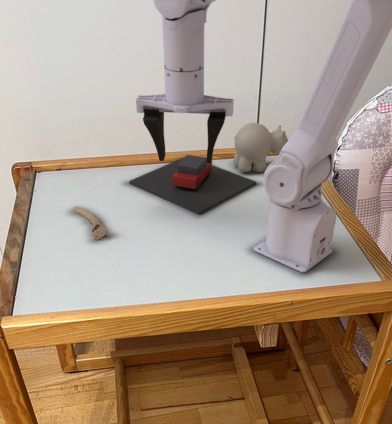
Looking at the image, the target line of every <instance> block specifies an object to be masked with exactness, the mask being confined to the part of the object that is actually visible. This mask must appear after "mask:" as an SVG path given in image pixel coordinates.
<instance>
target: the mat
mask: <svg viewBox="0 0 392 424" xmlns="http://www.w3.org/2000/svg"><path fill="white" fill-rule="evenodd" d="M183 158H184V157H181V158H179V159H177V160H174V161H172V162H170V163H167V164H165V165H163V166H161V167H158V168H156V169H154V170H152V171H149V172H147V173H145V174H143V175H140V176H138V177H135V178H134V179H131V180H129V181H128V183H129V184H130V185H132V186H134V187H136V188H138V189H140V190H143V191H145V192H148V193H150V194H152V195H154V196H157V197H158V198H161V199H163V200H165V201H168V202H169V203H172V204H174V205H176V206H179V207H181V208H183V209H186V210H188V211H190V212H193V213H195V214H197V215H202V214H203V213H205V212H207V211H209V210H210V209H213V208H214V207H216V206H218V205H220V204H222V203H224V202H226V201H228V200H230V199H231V198H233V197H235V196H237V195H239V194H241V193H243V192H244V191H247V190H248V189H250V188H252V187H254V186H256V185H257V181H255V180H253V179H251V178H248V177H244V176H242V175H240V174H237V173H234V172H232V171H229V170H226V169H223V168H220V167H219V166H216V165H213V164H212V170H211V173H210V176H209V177H205V179H204V180H203V181H202V182H201V183H200V188H199V190H193V189H191V188H185V187H176V186H173V182H172V176H173V175H174V174H175V173H176V172H177V165H178V163H179V162H180V161H181V160H182V159H183Z"/></svg>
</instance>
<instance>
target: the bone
mask: <svg viewBox="0 0 392 424" xmlns="http://www.w3.org/2000/svg"><path fill="white" fill-rule="evenodd" d="M72 211H73V212H74V213H75V214H78V215H80V216H83V217H84V218H86V219H88V220H89V221H90V222H91V224H92V230H91V232H92V235H93V237H94V240H95V241H97V240H102V239H103V238H104V237H105V235H106V234H107V230H108V229H107V226H105V225H104V224H102V222H101V221H100V220H99V219H98V217H96V216H95V215H93V214H92V213H91V212H90V211H88V210H86V209H84V208H82V207H79V206H74V207H73V209H72Z"/></svg>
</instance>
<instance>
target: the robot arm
mask: <svg viewBox="0 0 392 424" xmlns="http://www.w3.org/2000/svg"><path fill="white" fill-rule="evenodd" d="M152 1H153V4H154V6H155V9H156V10H157V11H158V13H159V14H160V15H161V22H162V24H161V25H162V46H163V68H164V90H165V91H164V93H163V94H152V95H150V94H148V95H147V94H146V95H141V94H140V95H138V96H137V97H136V99H135V109H136V113H137V114H143V118H142V122H143V124H144V126H145V128H146V129H147V131H148V132H149V135H150V137H151V139H152V141H153V145H154V146H155V149H156V153H157V157H158V161H159V162H164V160H165V159H166V140H165V113H173V114H174V113H176V114H195V115H196V114H198V115H199V114H200V115H208V118H207V121H206V125H207V126H206V127H207V148H206V149H207V150H206V158H207V163H211V162H212V163H213V155H214V149H215V146H216V142H217V140H218V139H219V135H220V133H221V130H222V129H223V126H224V124H225V122H226V118H227V117H233V115H234V106H235V105H234V103H235V99H234V98H229V97H227V98H226V97H221V96H214V95H206V94H205V24H206V23H207V12H208V10H209V8H210V7H211V5H212V3H214V2H217V0H152ZM346 12H347V13H346V15H345V17H344V19H343V22H342V24H341V26H340V29H339V31H338V33H337V35H336V37H335V40H334V43H333V45H332V47H331V50H330V51H329V54H328V55H327V59H326V61H325V64H324V66H323V68H322V70H321V72H320V75H319V77H318V80H317V82H316V84H315V86H314V88H313V91H312V93H311V95H310V98H309V100H308V103H307V105H306V107H305V109H304V112H303V114H302V116H301V119H300V121H299V123H298V126H297V128H296V129H295V131H294V132H293V134H292V135H291V136H290V137H289V138H288V139H289V140H288V141H287V143H286V144H285V145H284V146H283V148H282V149H281V152H280V153H278V156H277V158H276V159H274V160H273V161H272V162H271V163H269V165H268V166H266V169H265V170H264V173H263V177H262V179H263V180H262V182H263V183H262V184H263V188H264V191H265V193H266V195H267V196H268V197H269V207H268V217H267V229H266V236H265V237H266V238H265V240H263V241H262V242H260V243H259V244H257V245H255V246H254V247H253V251H254V252H256V253H258V254H261V255H263V256H265V257H267V258H269V259H271V260H273V261H276V262H278V263H280V264H282V265H284V266H287V267H289V268H291V269H293V270H295V271H297V272H300V273H303V274H304V273H306V272H308V271H309V270H310V269H312V268H313V267H315V266H316V265H317V264H318V263H320V262H321V261H322V260H324V259H325V258H326V257H328V256H330V255H331V254H332V253H333V249H332V247H331V246H332V242H333V236H334V231H335V227H336V222H337V213H336V210H335V209H333V208H332V207H330V206H329V205H327V204H326V203H325V202H324V200H323V199H322V194H323V192H322V188H323V183H325V182H327V180H329V178H330V177H331V175H332V173H333V171H334V162H335V161H334V159H335V154H336V152H337V149H338V148H339V142H338V141H337V137H338V135H339V134H340V131H341V129H342V127H343V126H344V124H345V122H346V119H347V117H348V116H349V114H350V112H351V109H352V108H353V105H354V104H355V102H356V100H357V98H358V96H359V94H360V92H361V90H362V88H363V86H364V84H365V82H366V80H367V78H368V76H369V74H370V72H371V71H372V68H373V66H374V65H375V62H376V61H377V59H378V56H379V54H380V52H381V50H382V48H383V47H384V45H385V42H386V40H387V38H388V37H389V35H390V32H391V30H392V0H351V3H350V6H349V8H348V10H347V11H346Z"/></svg>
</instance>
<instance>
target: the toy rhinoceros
mask: <svg viewBox="0 0 392 424" xmlns="http://www.w3.org/2000/svg"><path fill="white" fill-rule="evenodd" d="M281 128H282V125H278V127H276V129H275V130H273V131H272V132H270V131H269V129H268V128H267V126H265V125H264V124H262V123H259V122H250V123H247V124H244V125H243V126H242V127H241V128H240V129H239V130H238V131H237V133H236V134H235V136H234V149H235V153H234V157H233V164H234V165H235V166H237V168H238V172H241V173H248V172H251V170H253V171H254V172H256V173H257V172H258V173H262V172H265V170H266V169H267V161H266V159H267V157H268V156H269V154H270V152H271V153H273V154H280V152H281V149H282V148H283V146H284V145H285V144H286V143H287V141H288V140H289V139H290V138H288V136H287V134H286V131H285V130H282V129H281Z"/></svg>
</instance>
